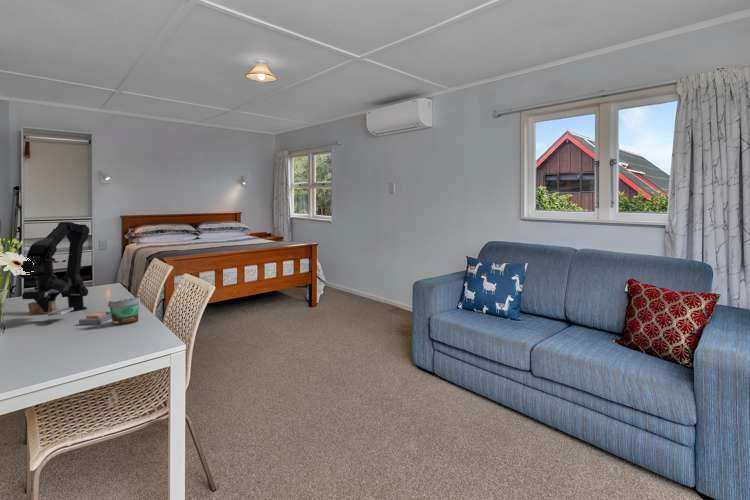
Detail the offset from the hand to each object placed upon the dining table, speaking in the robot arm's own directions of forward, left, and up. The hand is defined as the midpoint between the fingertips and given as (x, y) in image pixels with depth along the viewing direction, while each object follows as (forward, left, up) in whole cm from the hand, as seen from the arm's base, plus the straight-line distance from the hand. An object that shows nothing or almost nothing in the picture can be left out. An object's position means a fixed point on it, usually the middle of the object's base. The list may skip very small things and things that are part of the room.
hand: (48, 310), depth 172 cm
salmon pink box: (+15, +12, -5) cm, 19 cm away
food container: (+29, +18, -5) cm, 35 cm away
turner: (0, 0, -1) cm, 1 cm away
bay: (+15, +12, -4) cm, 19 cm away
